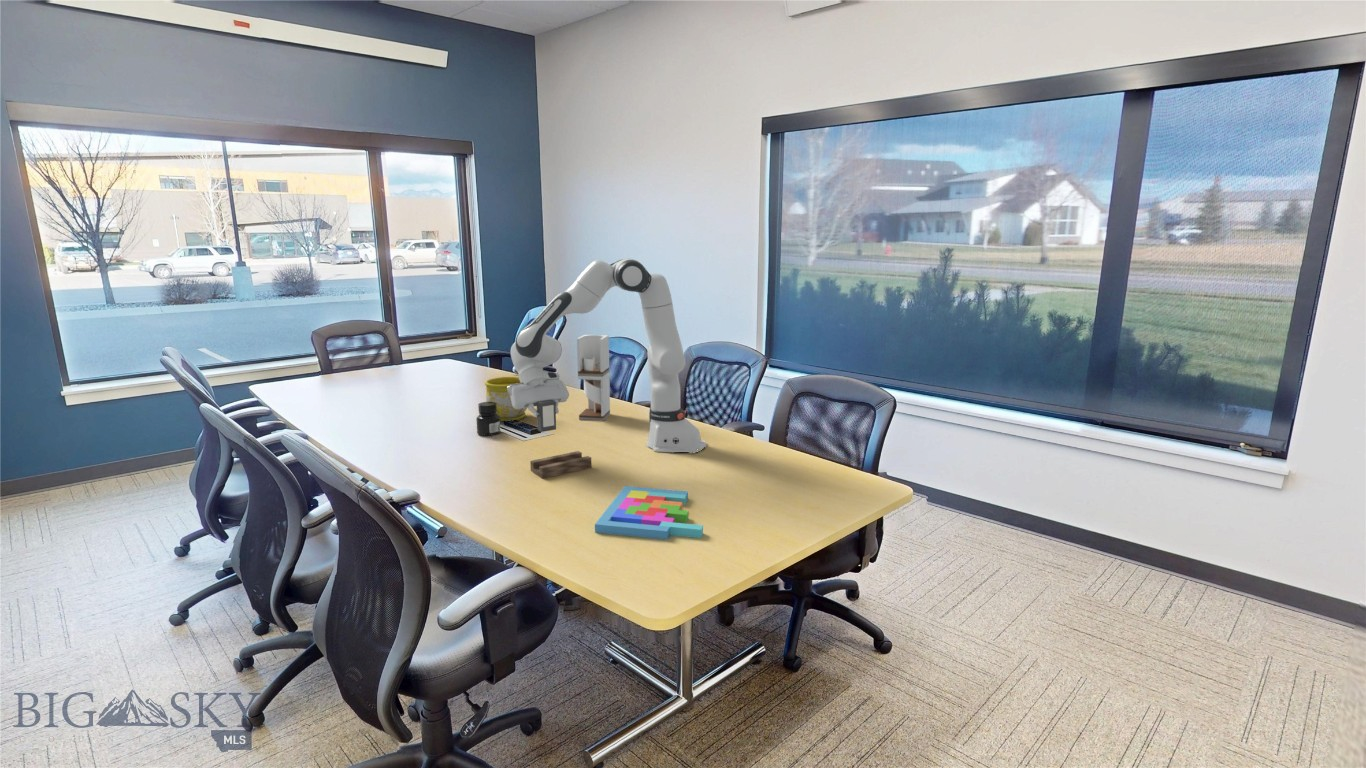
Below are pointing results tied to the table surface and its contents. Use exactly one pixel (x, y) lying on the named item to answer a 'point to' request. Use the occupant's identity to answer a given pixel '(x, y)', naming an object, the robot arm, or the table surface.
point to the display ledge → (560, 464)
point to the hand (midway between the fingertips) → (547, 414)
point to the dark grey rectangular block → (546, 415)
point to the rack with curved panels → (594, 375)
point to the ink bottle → (488, 419)
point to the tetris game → (648, 514)
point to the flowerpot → (503, 398)
